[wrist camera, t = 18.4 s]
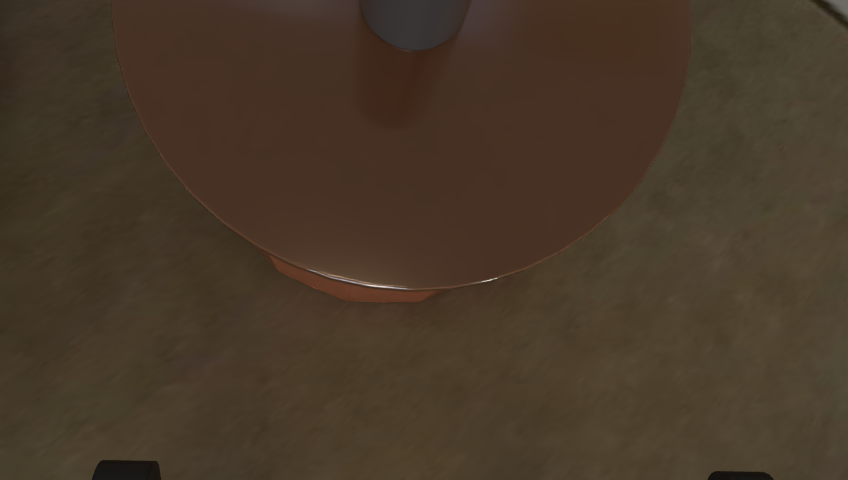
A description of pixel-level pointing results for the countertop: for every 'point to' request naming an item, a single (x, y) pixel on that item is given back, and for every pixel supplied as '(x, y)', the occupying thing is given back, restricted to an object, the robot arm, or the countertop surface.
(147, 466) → the robot arm
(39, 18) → the countertop surface
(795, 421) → the countertop surface
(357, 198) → the lid
